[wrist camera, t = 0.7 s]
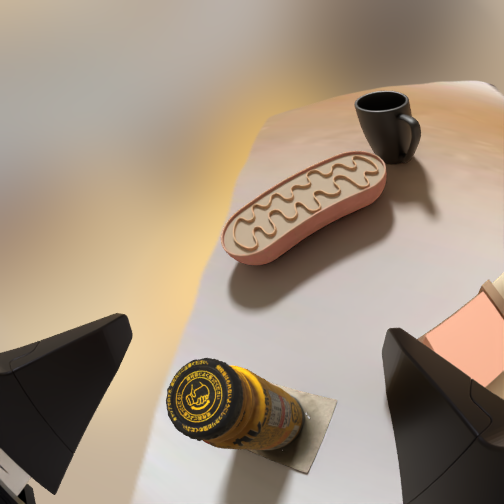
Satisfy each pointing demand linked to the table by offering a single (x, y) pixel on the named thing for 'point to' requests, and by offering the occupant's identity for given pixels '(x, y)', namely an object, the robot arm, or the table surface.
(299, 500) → the table surface
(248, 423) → the condiment
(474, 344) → the coral block
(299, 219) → the anatomical model
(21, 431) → the robot arm
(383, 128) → the mug
